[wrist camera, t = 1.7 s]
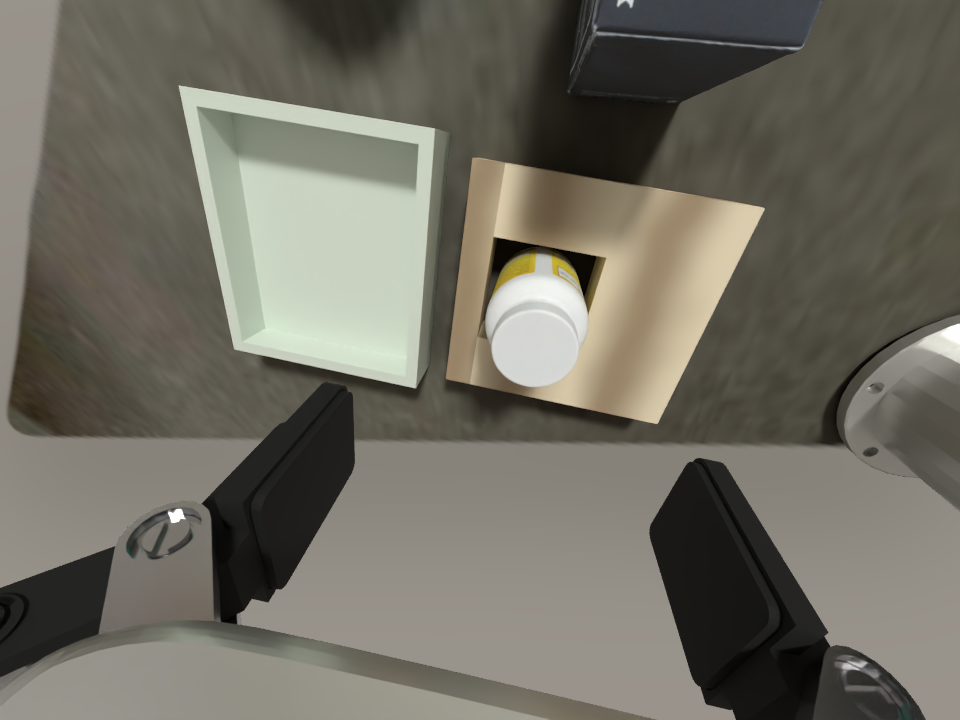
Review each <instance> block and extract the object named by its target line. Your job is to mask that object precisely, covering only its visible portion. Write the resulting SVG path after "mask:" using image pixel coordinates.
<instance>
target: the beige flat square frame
mask: <svg viewBox="0 0 960 720" xmlns="http://www.w3.org/2000/svg"><path fill="white" fill-rule="evenodd" d="M764 209H765V208H762V207H757V206H752V205H748V204H743V203H738V202H732V201H727V200H721V199H715V198H709V197H703V196H698V195H692V194H686V193H680V192H674V191H669V190H663V189H657V188H651V187H645V186H640V185H634V184H628V183H622V182H616V181H611V180H605V179H599V178H593V177H587V176H581V175H576V174H570V173H564V172H558V171H552V170H547V169H541V168H535V167H529V166H523V165H518V164H512V163H506V162H500V161H494V160H489V159H483V158H473V159H472V167H471V176H470V184H469V192H468V200H467V209H466V217H465V225H464V234H463V242H462V250H461V258H460V267H459V275H458V283H457V291H456V300H455V308H454V316H453V324H452V333H451V341H450V349H449V357H448V366H447V374H446V379H448V380H453V381H457V382H462V383H467V384H471V385H476V386H481V387H486V388H490V389H495V390H500V391H504V392H509V393H514V394H518V395H523V396H528V397H533V398H537V399H542V400H547V401H551V402H556V403H561V404H565V405H570V406H575V407H579V408H584V409H589V410H594V411H598V412H603V413H608V414H612V415H617V416H622V417H626V418H631V419H636V420H641V421H645V422H650V423H655V424H658V422H659V420H660V418H661V416H662V414H663V412H664V410H665V408H666V406H667V404H668V402H669V400H670V398H671V396H672V394H673V392H674V390H675V388H676V386H677V384H678V382H679V380H680V378H681V376H682V374H683V372H684V370H685V368H686V366H687V364H688V361H689V359H690V357H691V355H692V353H693V351H694V349H695V347H696V345H697V343H698V341H699V339H700V337H701V335H702V333H703V331H704V329H705V327H706V325H707V323H708V321H709V319H710V317H711V315H712V313H713V311H714V309H715V307H716V305H717V303H718V301H719V299H720V297H721V295H722V293H723V291H724V289H725V287H726V285H727V283H728V281H729V279H730V277H731V275H732V273H733V271H734V269H735V267H736V265H737V263H738V261H739V259H740V257H741V255H742V253H743V251H744V249H745V247H746V245H747V243H748V241H749V239H750V237H751V235H752V233H753V231H754V229H755V227H756V225H757V223H758V221H759V219H760V217H761V215H762V213H763V211H764ZM497 238H503V239H508V240H514V241H519V242H524V243H530V244H535V245H541V246H546V247H551V248H557V249H562V250H567V251H573V252H578V253H584V254H589V255H594V256H597V257H596V261H595V264H594V267H593V270H592V274H591V277H590V280H589V284H588V287H587V290H586V293H585V297H584V300H585V304H586V307H587V312H588V331H587V335H586V338H585V341H584V343H583V345H582V347H581V348H580V350H579V354H578V359H577V361H576V364H575V366H574V367H573V369H572V370H571V372H570V373H569V374H568V375H567V376H566V377H564V378H563V379H562V380H560V381H558V382H557V383H554V384H552V385H549V386H544V387H527V386H522V385H519V384H517V383H514V382H512V381H511V380H509V379H508V378H506V377H505V376H504V375H503V374H502V373H501V372H500V371H499V370H498V368H497V367H496V365H495V363H494V361H493V357H492V353H491V345H490V343H489V341H488V338H487V335H486V328H485V320H484V317H485V311H486V305H487V299H488V293H489V287H490V281H491V275H492V269H493V263H494V257H495V251H496V245H497Z"/></svg>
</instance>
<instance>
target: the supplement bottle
mask: <svg viewBox="0 0 960 720" xmlns="http://www.w3.org/2000/svg"><path fill="white" fill-rule="evenodd" d="M485 328H486V335H487V338H488V341H489V343H490V345H491V353H492V357H493V361H494V363H495V365H496V367H497V368H498V370H499V371H500V372H501V373H502V374H503V375H504V376H505V377H506V378H508V379H509V380H511V381H512V382H514V383H517V384H519V385H522V386H527V387H544V386H549V385H552V384H554V383H557V382H558V381H560V380H562V379H563V378H564V377H566V376H567V375H568V374H569V373H570V372H571V370H572V369H573V367H574V366H575V364H576V361H577V359H578V354H579V350H580V348H581V347H582V345H583V343H584V341H585V338H586V335H587V331H588V312H587V307H586V304H585V300H584V297H583V293H582V290H581V286H580V283H579V279H578V276H577V273H576V271H575V269H574V267H573V265H572V263H571V262H570V261H569V260H568V259H567V258H566V257H565V256H564V255H563V254H561V253H560V252H558V251H556V250H554V249H551V248H547V247H531V248H527V249H524V250H522V251H520V252H518V253H516V254H515V255H513V256H512V257H511V258H510V259H509V260H508V261H507V262H506V264H505V265H504V267H503V268H502V270H501V272H500V275H499V277H498V280H497V283H496V286H495V289H494V291H493V294H492V297H491V299H490V302H489V304H488V308H487V312H486V317H485Z"/></svg>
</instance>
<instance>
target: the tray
mask: <svg viewBox="0 0 960 720" xmlns="http://www.w3.org/2000/svg"><path fill="white" fill-rule="evenodd" d="M179 89H180V94H181V99H182V104H183V108H184V113H185V118H186V123H187V127H188V132H189V137H190V142H191V146H192V151H193V156H194V161H195V165H196V170H197V175H198V179H199V184H200V189H201V194H202V198H203V203H204V208H205V213H206V217H207V222H208V227H209V232H210V236H211V241H212V246H213V251H214V255H215V260H216V265H217V270H218V274H219V279H220V284H221V288H222V293H223V298H224V303H225V307H226V312H227V317H228V322H229V326H230V331H231V336H232V341H233V345H234V349H235V350H240V351H245V352H249V353H254V354H259V355H263V356H268V357H272V358H277V359H282V360H286V361H291V362H296V363H300V364H305V365H310V366H314V367H319V368H323V369H328V370H333V371H337V372H342V373H347V374H351V375H356V376H361V377H365V378H370V379H374V380H379V381H384V382H388V383H393V384H398V385H402V386H407V387H412V388H416V387H417V386H418V384H419V382H420V380H421V379H422V377H423V375H424V373H425V372H426V370H427V368H428V366H429V362H430V352H431V341H432V330H433V319H434V308H435V297H436V286H437V276H438V265H439V254H440V243H441V232H442V221H443V210H444V199H445V189H446V178H447V167H448V156H449V145H450V134H451V133H448V132H445V131H441V130H438V129H434V128H428V127H422V126H416V125H410V124H404V123H398V122H392V121H386V120H381V119H375V118H369V117H363V116H357V115H351V114H345V113H339V112H333V111H327V110H321V109H315V108H309V107H303V106H297V105H291V104H285V103H280V102H274V101H268V100H262V99H256V98H250V97H244V96H238V95H232V94H226V93H220V92H214V91H208V90H202V89H196V88H190V87H185V86H179Z"/></svg>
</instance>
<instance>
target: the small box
mask: <svg viewBox="0 0 960 720" xmlns="http://www.w3.org/2000/svg"><path fill="white" fill-rule="evenodd" d="M822 2H823V0H581V2H580V11H579V15H578V19H577V22H576V33H575V40H574V46H573V54H572V59H571V66H570V73H569V79H568V83H567V88H566V90H567V92H568V93H569V95H570V96H571V97H573V96H576V97H585V96H593V97H594V98H597V97H602V98H612V99H616V98H618V99H626V100H628V101H631V100H637V101H643V102H644V103H652V104H654V103H657V104H660V103H664V104H665V103H673V104H678V103H681V102H682V101H684V100H687V99H689V98H691V97H693V96H695V95H697V94H700V93H702V92H704V91H707V90H709V89H711V88H713V87H715V86H717V85H720V84H722V83H725V82H727V81H729V80H732V79H734V78H736V77H739V76H741V75H743V74H745V73H747V72H750V71H752V70H755V69H757V68H759V67H761V66H763V65H765V64H768V63H770V62H772V61H774V60H777V59H779V58H781V57H783V56H786V55H788V54H792V53H795V52H797V51H799V50H801V49H802V48H803V47H804V45H805V43H806V42H807V39H808V37H809V34H810V31H811V28H812V26H813V24H814V21H815V19H816V16H817V14H818V11H819V9H820V6H821V4H822Z"/></svg>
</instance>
